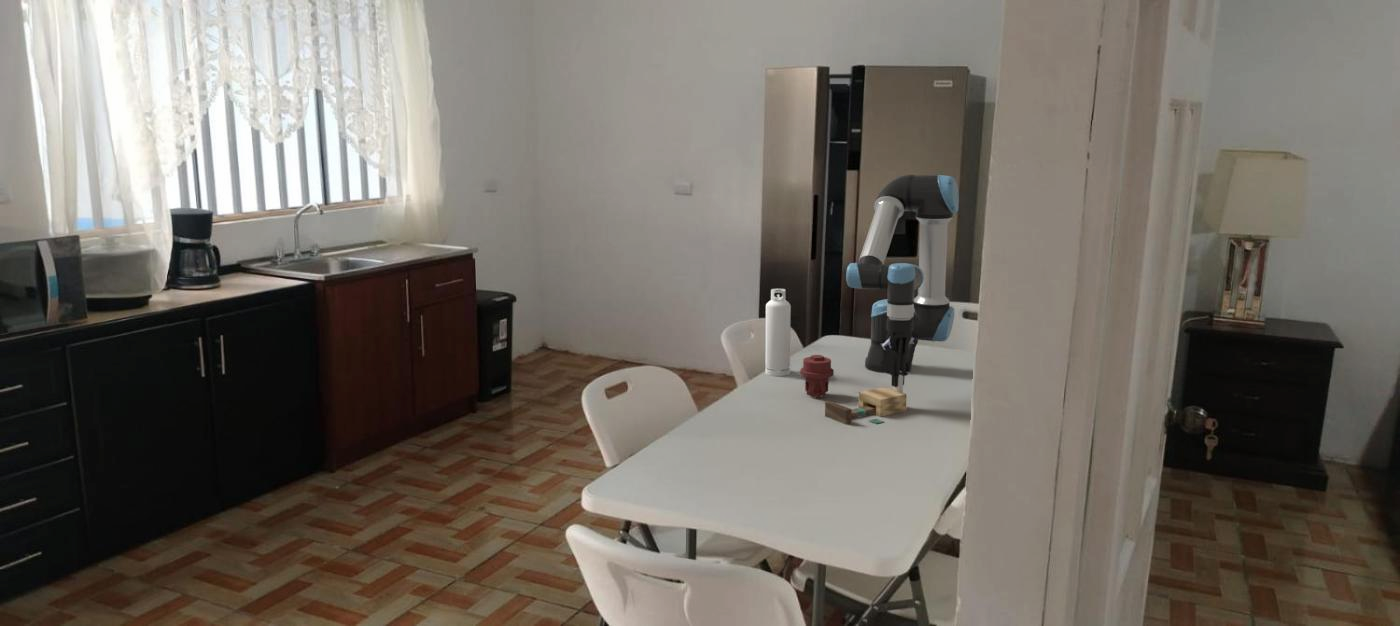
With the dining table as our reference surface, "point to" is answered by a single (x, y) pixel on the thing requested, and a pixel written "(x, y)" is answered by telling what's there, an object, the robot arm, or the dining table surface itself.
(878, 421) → the wooden block assembly
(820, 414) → the dining table surface
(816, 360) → the mechanical component
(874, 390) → the light wooden box
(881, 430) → the dining table surface
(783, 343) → the bottle
